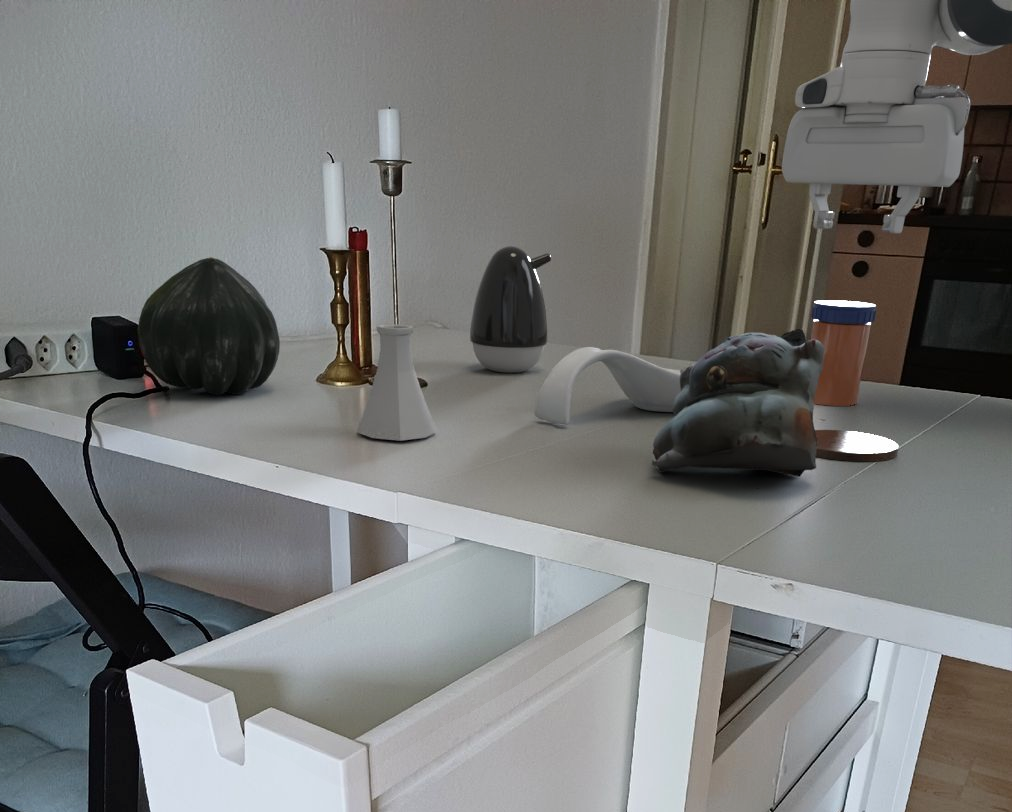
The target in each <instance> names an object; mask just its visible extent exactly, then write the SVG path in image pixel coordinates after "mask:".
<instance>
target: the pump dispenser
mask: <svg viewBox="0 0 1012 812" xmlns="http://www.w3.org/2000/svg"><path fill="white" fill-rule="evenodd" d="M551 261H552V256H551V254H550V253H548V252H547V253H544V254H541V255H538V256H535V257H533V258H530V257H529V255H528V253H527V252H526V251H525V250H523V249H522V248H520V247H517V246H513V245H508V246H504V247H501V248H499V249H498V250H497V251H495V253H494V254H493V255H492V256H491V258H490V259H489V261H488V263H487V265H486V267H485V269H484V272H483V274H482V277H481V279H480V282H479V285H478V288H477V291H476V295H475V299H474V304H473V307H472V315H471V319H470V320H471V321H470V329H469V341H470V343H472V349H473V352H474V355H475V358H476V359H477V361H478V363H480V364H481V366H483V367H484V368H486V369H487V370H489V371H492V372H497V373H509V374H510V373H511V374H513V373H514V374H515V373H516V374H517V373H524V372H526V371H529V370H530V369H532V368H534V367H535V366H536V365H537V364H538V363H539V361H540V360H541V358H542V356H543V353H544V349H545V345H547V343H548V320H547V312H546V311H547V310H546V304H545V300H544V293H543V289H542V286H541V283H540V280H539V276H538V273H537V270H538V269H540V268H541V267H543V266H545V265H546V264H548V263H549V262H551Z"/></svg>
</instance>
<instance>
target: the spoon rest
mask: <svg viewBox="0 0 1012 812" xmlns="http://www.w3.org/2000/svg"><path fill="white" fill-rule="evenodd" d="M598 362H602V363H603V364H604V365H605V366H606V368H607V369H608V370H609V372H610V373H611V375H612V378H614V380H615V381H616V383H617V385H618V386H619V388H620V389H621V391H622V392H623V394H624V395H625V396H626V397H627V398H628V399H629V400H630V401H631V402H632V404H633V406H634V407H636V408H638V409H641V410H645V411H649V412H650V411H651V412H661V413H663V412H664V413H673V410H672V409H673V405H674V400H675V398H676V396H677V395H678V394H679V393H680V392H681V388H680V374H681V372H680V370H681V369H680V370H679V369H673V368H664V367H661V366H659V365H657V364H654V363H652V362H649V361H647V360H645V359H642V358H640V357H638V356H635V355H634V354H631V353H627V352H624V351H621V350H616V349H604V350H602V349H601V348H598V347H595V346H594V347H593V346H584V347H580V348H576V349H575V350H573V351H571V352H569V353H568V354H566V355H565V356H564V357H563V358H561V359H560V360H559V361H558V362H557V363H556V364H555V366H553V367H552V369H551V370H550V372H549V373H548V374H547V376H546V377H545V379H544V382H543V384H542V385H541V388H540V390H539V393H538V396H537V399H536V403H535V409H534V416H535V417H536V418H537V419H539V420H542V421H546V422H549V423H554V424H558V425H568V424H569V422H570V410H571V400H572V399H571V398H572V393H573V388H574V386H575V383H576V381H577V379H578V377H579V375H580V374H581V373H582V372H583V371H584V370H586V369H587V368H588V367H589V366H591V365H593V364H595V363H598Z"/></svg>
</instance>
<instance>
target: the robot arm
mask: <svg viewBox="0 0 1012 812" xmlns="http://www.w3.org/2000/svg"><path fill="white" fill-rule="evenodd" d="M849 14H850V15H849V16H850V28H849V33H848V37H847V40H846V43H845V45H844V47H843V51H842V54H841V62H840V66H837V67H835V68H833V69H831V70H829V71H827V72H825V73H824V74H821V75H819V76H817V77H815V78H813V79H811V80H809V81H807V82H804V83H801V85H799V86H798V87H797V89H796V91H795V95H794V96H795V97H794V104H795V106H796V107H798V108H800V109H799V110H798V111H796V112H795V113H794V115H793V116H792V118H791V120H790V123H789V126H788V129H787V133H786V137H785V144H784V148H783V149H784V150H783V154H782V163H781V174H782V175H783V178H784V180H785V181H786V182H787V183H791V184H792V183H793V184H809V189H808V190H809V191H808V197H809V199H810V203H811V205H812V208H813V211H814V217H813V222H812V223H813V225H812V226H813V228H814V229H819V230H820V229H822V230H823V229H824V230H830V229H831V230H832V228H833V226H834V219H835V217H836V216H835V215H836V212H835V211H830V209H829V204H828V199H827V196H830V194H831V192H832V185H860V186H861V185H862V186H865V185H866V186H897V192H896V197H897V198H900V199H899V201H898V203H897V204H896V206H895V207H894V208H893V210H892V212H891V214H884V215H883V220H882V222H883V224H882V225H881V232H882V233H887V234H901V233H902V231H903V228H904V225H905V224H904V223H905V219H906V216H907V215H908V214H909V213H910V211H912V208H913V207H914V206H915V204H916V203H917V201H918V200H920V199H919V198H920V194H921V189H922V187H933V188H934V187H935V188H936V187H937V188H938V187H939V188H950V187H951V186H952V185H953V184H954V183H955V181H956V180H957V179H958V178H959V176H960V174H961V169H962V163H963V155H964V154H963V152H964V145H965V143H964V142H965V127H966V125H967V123H968V119H969V113H970V109H971V99H970V96H969V95H968V93H967V92H966V91H965V90H964V89H962V88H961V85H957V84H947V85H944V86H943V85H942V86H939V85H926V82H927V78H928V72H929V66H930V61H931V56H932V52H933V48H934V47H936V48H939V49H940V48H941V49H944V50H948V51H953V52H955V53H958V54H960V55H961V54H962V55H967V56H976V55H977V56H978V55H983V54H987V53H990V52H992V51H994V50H997V49H1000V48H1002V47H1004V46H1006V45H1007V46H1008V45H1011V44H1012V0H850V4H849ZM959 95H961V96H959ZM801 108H802V109H801Z"/></svg>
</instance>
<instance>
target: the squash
mask: <svg viewBox="0 0 1012 812" xmlns="http://www.w3.org/2000/svg"><path fill="white" fill-rule="evenodd" d="M137 337H138V343H139V348H140V351H141V354H142V356H143V358H144V361H145V363H146V364H147V366H148V367H149V369H150V371H151V372H152V373H153V374H154V375H155V376H156V378H158V379H159V380H160V381H161V382H163V383H165V384H167V385H169V386H171V387H176V388H189V389H194V390H199V389H202V388H203V389H204V390H205V391H206V392H207V393H209V394H211V395H214V396H222V395H223V394H225V393H226V392H227V393H228V394H231V395H240V394H243V393H245V392H247V391H248V390H254V389H256V388H259V387H261V386H263V384H265V383H266V382H267V380H268V379H269V377H270V376H271V375H272V374H273V371H274V370H275V368H276V364H277V362H278V359H279V355H280V347H281V345H280V344H281V343H280V341H281V340H280V334H279V329H278V325H277V321H276V319H275V316H274V314H273V312H272V310H271V309H270V307H269V306H268V305H267V302H266V300H265V298H264V297H263V296H262V294H261V293H260V292H259V290H258V289H257V288H256V286H254V285H253V283H251V282H250V281H249V280H248V279H247V278H245V277H244V276H243V275H242V274H240V273H239V272H238V271H237V270H235V269H234V268H233V267H232V266H230V265H229V264H227V263H226V262H224V261H223V260H221V259H219V258H215V257H211V256H210V257H207V258H202V259H199V260H197V261H195V262H193V263H191V264H189V265H187V266H186V267H184V268H183V269H181V270H179V271H178V272H176V273H175V274H174V275H172V276H171V277H170V278H168V279H167V280H166V281H165V282H163V283H162V285H160V286H159V287H158V288H157V289H155V290H154V292H153V293H151V295H149V297H148V298H147V299H146V301H145V302H144V304H143V307H142V308H141V313H140V316H139V320H138V324H137Z"/></svg>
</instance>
